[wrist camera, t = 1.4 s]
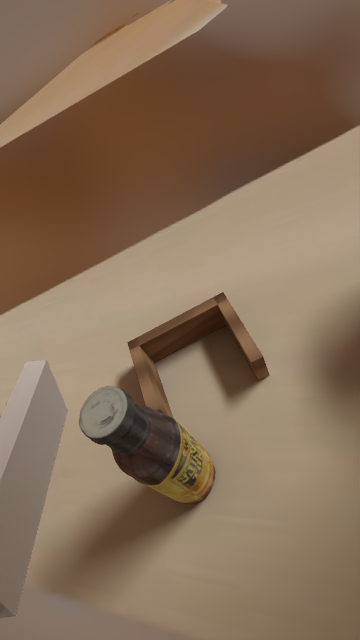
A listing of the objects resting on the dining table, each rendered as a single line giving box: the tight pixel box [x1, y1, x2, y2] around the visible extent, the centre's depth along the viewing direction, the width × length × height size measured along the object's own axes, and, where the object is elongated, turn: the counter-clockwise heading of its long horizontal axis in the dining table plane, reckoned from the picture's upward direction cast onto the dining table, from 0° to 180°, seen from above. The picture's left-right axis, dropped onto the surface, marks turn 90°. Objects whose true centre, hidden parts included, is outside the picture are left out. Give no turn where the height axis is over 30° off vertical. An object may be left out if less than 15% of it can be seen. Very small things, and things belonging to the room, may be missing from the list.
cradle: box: [128, 292, 269, 418], centre depth 44 cm, size 12×15×5 cm
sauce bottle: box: [79, 386, 215, 504], centre depth 31 cm, size 6×6×20 cm
